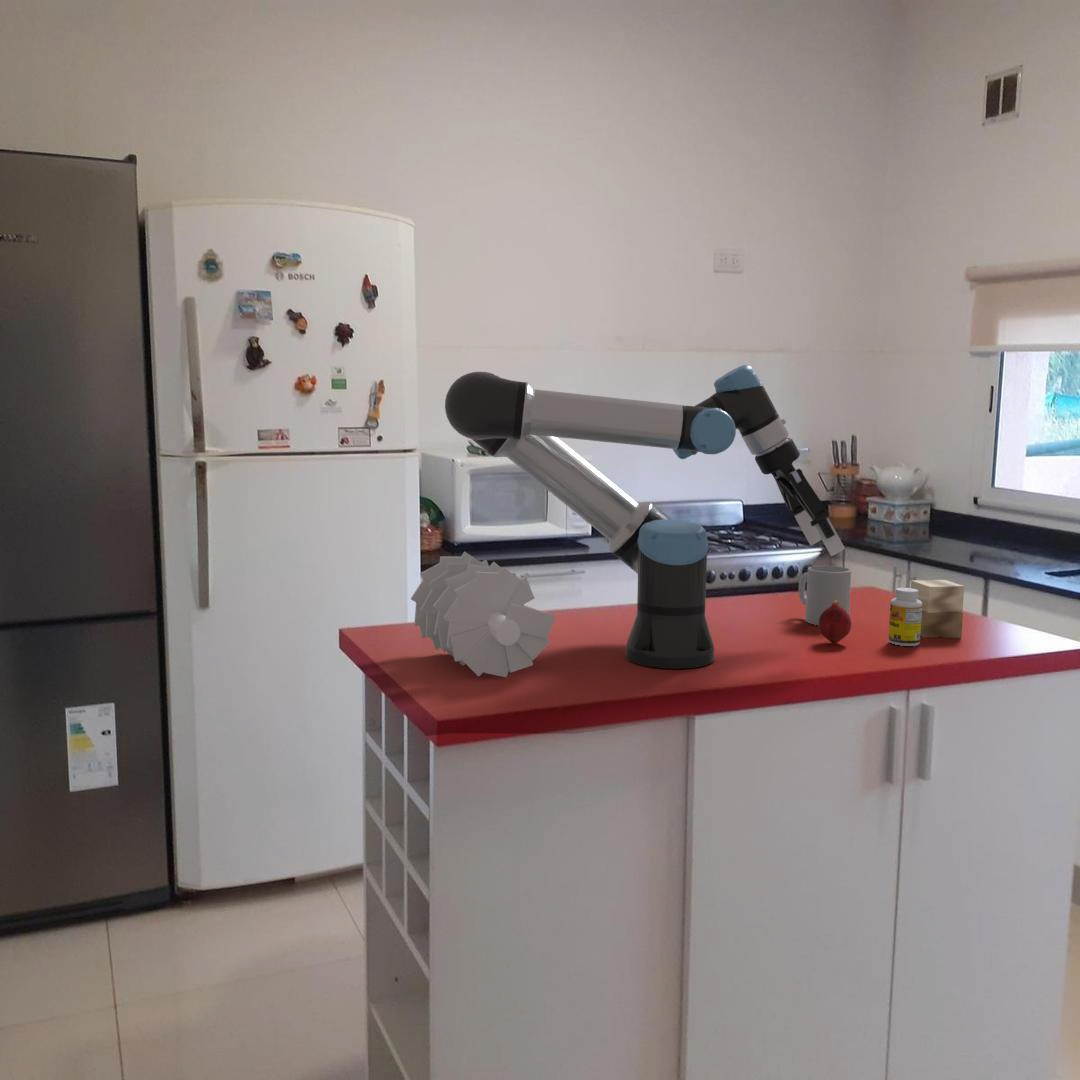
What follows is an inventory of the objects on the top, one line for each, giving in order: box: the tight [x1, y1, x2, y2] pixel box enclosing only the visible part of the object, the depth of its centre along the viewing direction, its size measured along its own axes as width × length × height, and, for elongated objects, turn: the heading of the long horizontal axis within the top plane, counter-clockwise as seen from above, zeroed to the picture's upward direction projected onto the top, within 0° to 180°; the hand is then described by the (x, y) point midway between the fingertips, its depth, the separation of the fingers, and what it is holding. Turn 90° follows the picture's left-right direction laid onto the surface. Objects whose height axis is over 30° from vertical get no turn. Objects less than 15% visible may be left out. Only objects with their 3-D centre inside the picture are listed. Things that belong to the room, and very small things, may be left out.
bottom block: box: [920, 611, 964, 639], centre depth 211 cm, size 8×8×5 cm
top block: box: [910, 579, 965, 613], centre depth 210 cm, size 7×7×5 cm
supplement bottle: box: [888, 587, 922, 647], centre depth 201 cm, size 6×6×10 cm
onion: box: [818, 601, 852, 644], centre depth 201 cm, size 6×6×8 cm
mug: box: [798, 565, 852, 626], centre depth 221 cm, size 12×8×11 cm
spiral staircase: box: [410, 551, 556, 678], centre depth 183 cm, size 18×18×25 cm
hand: (827, 547), depth 201 cm, fingers open, 13 cm apart
